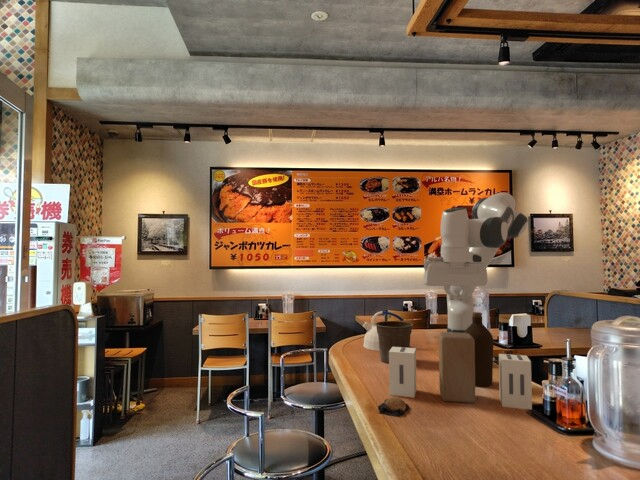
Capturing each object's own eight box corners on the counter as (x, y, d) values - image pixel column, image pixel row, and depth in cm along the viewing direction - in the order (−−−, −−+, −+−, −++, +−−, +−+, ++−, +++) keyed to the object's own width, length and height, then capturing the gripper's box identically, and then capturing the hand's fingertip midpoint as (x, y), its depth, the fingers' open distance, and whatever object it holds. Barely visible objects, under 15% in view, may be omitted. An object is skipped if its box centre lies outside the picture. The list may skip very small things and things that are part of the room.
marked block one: (392, 387, 142) (392, 346, 142) (416, 390, 139) (416, 347, 140) (389, 395, 134) (388, 351, 134) (414, 397, 131) (413, 352, 132)
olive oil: (479, 389, 140) (477, 315, 141) (456, 381, 149) (455, 311, 151) (501, 385, 145) (499, 313, 146) (477, 377, 154) (476, 310, 155)
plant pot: (388, 367, 168) (388, 327, 169) (368, 358, 183) (368, 322, 184) (421, 363, 175) (420, 325, 176) (399, 355, 190) (399, 319, 190)
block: (476, 404, 125) (475, 338, 126) (442, 401, 127) (441, 336, 128) (470, 393, 135) (469, 332, 136) (439, 391, 137) (438, 331, 138)
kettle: (363, 342, 219) (363, 308, 220) (402, 343, 216) (402, 309, 217) (361, 350, 199) (361, 313, 200) (405, 352, 196) (405, 314, 197)
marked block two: (499, 398, 131) (498, 353, 132) (527, 400, 129) (526, 354, 129) (502, 406, 123) (501, 359, 124) (532, 409, 121) (531, 361, 122)
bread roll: (384, 403, 128) (384, 391, 128) (411, 407, 124) (411, 395, 124) (374, 415, 118) (374, 402, 118) (403, 419, 115) (403, 406, 115)
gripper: (427, 257, 129) (427, 301, 129) (489, 257, 131) (490, 300, 131) (420, 257, 136) (420, 299, 135) (480, 257, 137) (480, 298, 137)
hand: (455, 299), depth 133 cm, fingers closed
